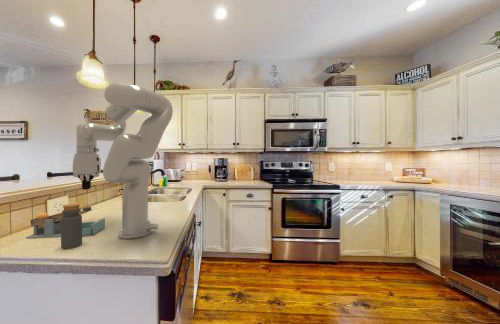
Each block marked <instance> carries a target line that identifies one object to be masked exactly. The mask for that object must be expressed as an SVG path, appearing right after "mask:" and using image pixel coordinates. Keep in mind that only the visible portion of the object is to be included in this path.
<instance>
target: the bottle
mask: <svg viewBox="0 0 500 324" xmlns="http://www.w3.org/2000/svg"><path fill="white" fill-rule="evenodd" d="M80 206H81V203H78V202H77V203H76V202H75V203H66V204H63V205H62V209H63V210H61V214H62V213H63V214H64V216H63V217H62V218H61V237H60V248H61V249H62V250H71V249H75V248H77V247H78V248H79V247H80V246H81V245H82V244H83V236H82V222H83V217H82V215H83V214H81V215H80V214H79V212H80V211H82V209H81V207H80Z"/></svg>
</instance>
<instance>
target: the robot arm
mask: <svg viewBox="0 0 500 324" xmlns="http://www.w3.org/2000/svg"><path fill="white" fill-rule="evenodd" d="M103 96H104V99H105V101H106V102H107V103H109V105H108V106H107V107H106V109H105V113H106V115H107V117H108V118H109V120H111V121H112V122H114V123H113V124H111V125H110V124H109V125H108V124H102V123H96V122H95V123H94V122H87V123H81V124H77V126H76V153H74V157H73V161H72V174H73V175H72V176H73V177H74V178H78V179H79V180H80V182H81V188H82V191H83V190H84V191H86V190H87V191H88V190H90V189H91V187H92V181H93V179H94V178H99V177H100V174H101V170H102V176H103V178H104V181H106V182H108V183H110V184H123V183H124V184H125V185H124V187H123V189H122V194H121V196H122V198H121V199H122V202H121V203H122V204H121V210H122V211H121V216H122V218H121V220H122V221H121V222H122V223H121V225H122V226H121V227H122V229H121V230H120V231H118V232H117V237H118V238H120V239H123V240H124V239H125V240H131V239H138V238H141V237H145V236H147V235H150V234H151V233H153V230H158V229H159V224H158V223H151V220H149V181H150V176H151V172H152V171H151V165H150V164H149V162H148V161H146V160H147V159H151V158H152V157H154V155H155V154H156V152H157V149H158V147H159V144H160V142H161V139H162V137H163V135H164V133H165V131H166V129H167V127H168V126H169V124H170V122H171V121H172V119H173V112H174V111H173V106H172V103H171V101H170V100H169V99H168V98H167V97H165V96H164V95H162V94H160V93H157V92H155V91H152V90H150V89H147V88H144V87H141V86H138V85H136V84H135V85H134V84H128V83H123V82H122V83H121V82H112V83H110V84H108V85H107V86H106V88H105V90H104V95H103ZM137 111H140V112H143V113H144V112H145V113H149V114H151V115H150V116H148V117H147V118H146V119H145V120H144V121H143V122H142V123H141V124H140V127H139V131H138V132H137V133H136V134H135V133H134V134H133V133H125V131H126V129H127V128H126V127H127V120H128V119H129V118H130V117H132V116H133V115H134V114H135V113H136V112H137ZM97 141H106V142H111V141H112V144H111V147H110V149H109V152H108V153H107V157H106V160H105V162H104V166H103V169H101V168H102V167H101V159H100V155H99V154H98V153H97V152H100V149H99V148H98V147H97Z"/></svg>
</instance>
